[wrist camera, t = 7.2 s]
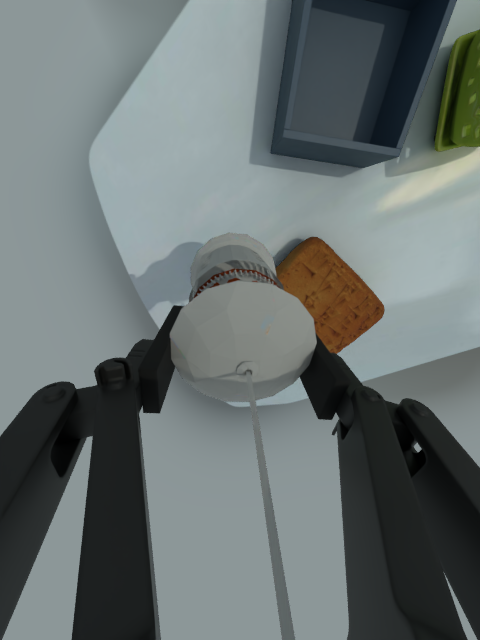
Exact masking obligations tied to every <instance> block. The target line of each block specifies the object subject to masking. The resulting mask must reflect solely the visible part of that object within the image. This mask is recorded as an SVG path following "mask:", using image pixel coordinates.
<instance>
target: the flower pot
mask: <svg viewBox="0 0 480 640" xmlns="http://www.w3.org/2000/svg"><path fill="white" fill-rule="evenodd" d="M434 141H435V150H436V151H437V152H440V151H445V150H449V149H453V148H458V147H462V146H467V147H477V146H480V30H477V31H474V32H471V33H468V34H466V35H463V36H461V37H459V38H458V39H457V40H456V41H455V43H454V45H453V48H452V51H451V55H450V59H449V64H448V69H447V74H446V80H445V85H444V91H443V96H442V102H441V108H440V114H439V120H438V126H437V133H436V135H435V137H434Z"/></svg>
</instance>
